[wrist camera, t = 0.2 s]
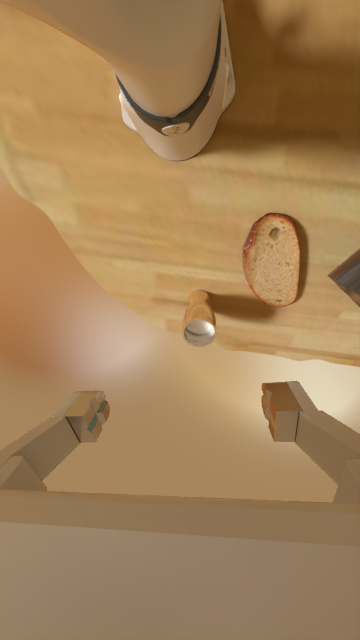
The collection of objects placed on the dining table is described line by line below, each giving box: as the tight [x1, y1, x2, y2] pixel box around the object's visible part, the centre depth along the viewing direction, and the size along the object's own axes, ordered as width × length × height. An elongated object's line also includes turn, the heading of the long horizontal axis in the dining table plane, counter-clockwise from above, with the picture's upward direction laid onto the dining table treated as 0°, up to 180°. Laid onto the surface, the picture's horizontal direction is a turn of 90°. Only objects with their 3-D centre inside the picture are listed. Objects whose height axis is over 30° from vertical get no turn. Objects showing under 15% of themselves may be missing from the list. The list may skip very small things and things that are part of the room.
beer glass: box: [182, 290, 217, 347], centre depth 43 cm, size 7×7×15 cm
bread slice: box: [243, 213, 300, 307], centre depth 42 cm, size 18×18×4 cm
